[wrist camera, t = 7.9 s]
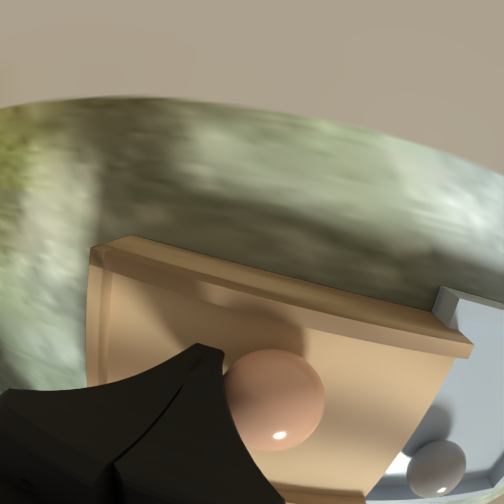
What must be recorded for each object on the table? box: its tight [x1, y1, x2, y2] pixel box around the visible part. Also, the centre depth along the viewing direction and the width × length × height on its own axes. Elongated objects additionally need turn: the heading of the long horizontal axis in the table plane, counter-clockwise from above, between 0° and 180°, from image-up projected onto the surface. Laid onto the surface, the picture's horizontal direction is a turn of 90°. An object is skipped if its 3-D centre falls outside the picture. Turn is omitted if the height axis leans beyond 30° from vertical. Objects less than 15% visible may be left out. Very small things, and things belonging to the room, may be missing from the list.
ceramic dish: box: [365, 286, 504, 504], centre depth 12 cm, size 13×13×2 cm
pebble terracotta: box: [223, 349, 325, 452], centre depth 9 cm, size 3×3×3 cm
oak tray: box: [86, 235, 475, 504], centre depth 12 cm, size 10×14×3 cm
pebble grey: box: [406, 440, 466, 498], centre depth 11 cm, size 3×3×3 cm
